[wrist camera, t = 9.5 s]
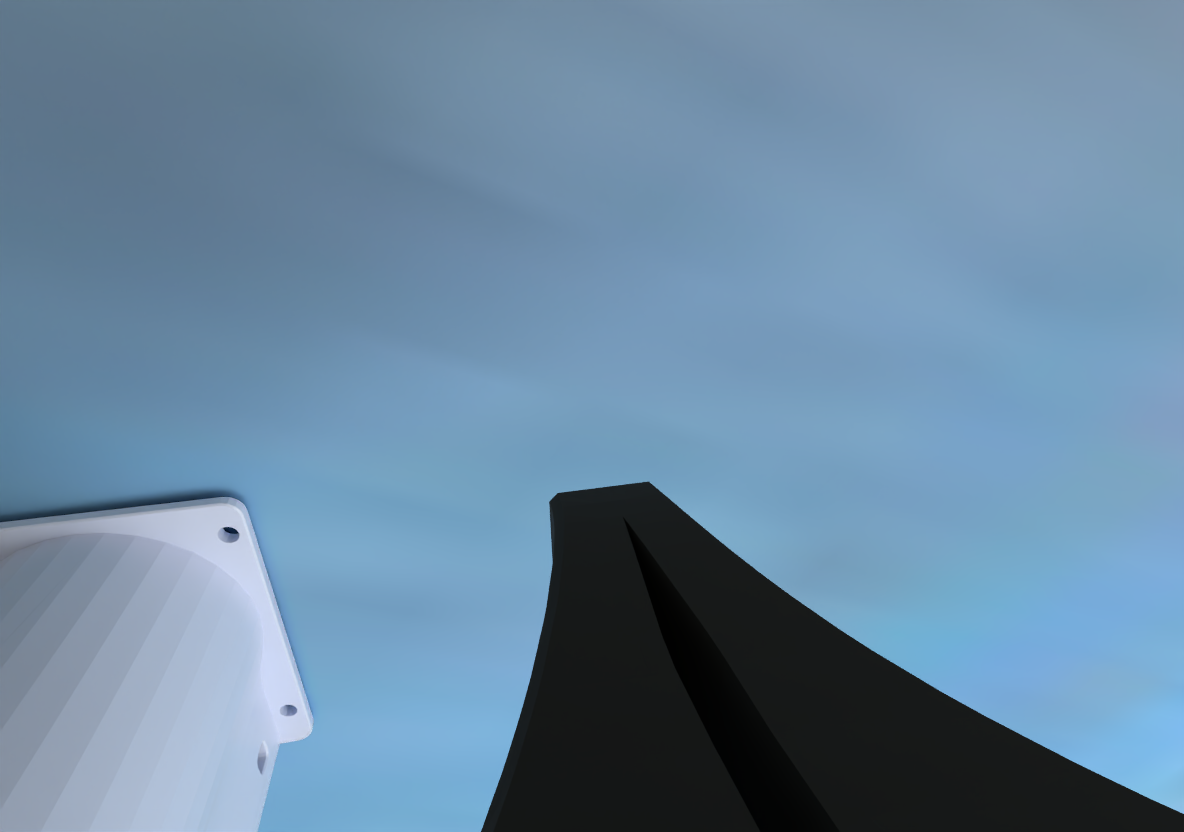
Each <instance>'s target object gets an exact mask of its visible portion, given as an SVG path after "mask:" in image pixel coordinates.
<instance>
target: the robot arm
mask: <svg viewBox="0 0 1184 832" xmlns="http://www.w3.org/2000/svg"><path fill="white" fill-rule="evenodd" d="M549 504H550V522H551V539H552V557H553V566H552V573H551V579H550V586H549V593H548V600H547V607H546V612H545V618H544V622H543V627H542V631H541V635H540V640H539V644H538V649H537V653H536V657H535V662H534V666H533V670H532V675H531V678H530V682H529V686H528V690H527V693H526V697H525V700H524V704H523V708H522V711H521V714H520V718H519V721H518V725H517V728H516V731H515V734H514V737H513V740H512V744H511V747H510V750H509V753H508V756H507V759H506V763H505V766H504V769H503V772H502V775H501V777H500V780H499V783H498V786H497V789H496V791H495V794H494V797H493V800H492V803H491V805H490V808H489V811H488V814H487V817H486V819H485V822H484V825H483V828H482V831H481V832H1184V814H1182V813H1180V812H1178V811H1176V810H1173V809H1171V808H1169V807H1167V806H1165V805H1162V804H1160V803H1158V802H1156V801H1154V800H1151V799H1149V798H1147V797H1145V796H1143V795H1141V794H1139V793H1137V792H1135V791H1133V790H1130V789H1128V788H1126V787H1124V786H1122V785H1120V784H1118V783H1116V782H1114V781H1112V780H1110V779H1108V778H1105V777H1103V776H1101V775H1099V774H1097V773H1095V772H1093V771H1091V770H1089V769H1087V768H1085V767H1083V766H1081V765H1079V764H1077V763H1075V762H1072V761H1070V760H1069V759H1067V758H1065V757H1063V756H1061V755H1059V754H1057V753H1055V752H1053V751H1051V750H1049V749H1047V748H1045V747H1043V746H1042V745H1040V744H1038V743H1036V742H1034V741H1032V740H1030V739H1028V738H1026V737H1024V736H1022V735H1020V734H1018V733H1016V732H1015V731H1013V730H1011V729H1009V728H1007V727H1005V726H1003V725H1001V724H999V723H997V722H995V721H993V720H991V719H989V718H988V717H986V716H984V715H982V714H980V713H978V712H977V711H975V710H973V709H971V708H969V707H968V706H966V705H964V704H962V703H960V702H959V701H957V700H955V699H953V698H951V697H949V696H948V695H946V694H944V693H942V692H941V691H939V690H937V689H935V688H934V687H932V686H930V685H929V684H927V683H925V682H924V681H922V680H920V679H919V678H917V677H915V676H914V675H912V674H910V673H909V672H907V671H905V670H904V669H902V668H900V667H899V666H897V665H895V664H894V663H892V662H890V661H889V660H887V659H885V658H884V657H882V656H880V655H879V654H877V653H875V652H874V651H872V650H871V649H869V648H867V647H866V646H864V645H863V644H861V643H860V642H858V641H856V640H855V639H853V638H852V637H850V636H849V635H847V634H846V633H844V632H843V631H841V630H840V629H838V628H837V627H835V626H834V625H832V624H831V623H829V622H828V621H826V620H825V619H824V618H822V617H821V616H819V615H818V614H816V613H815V612H813V611H812V610H811V609H809V608H808V607H806V606H805V605H803V604H802V603H800V602H799V601H798V600H796V599H795V598H793V597H792V596H790V595H789V594H788V593H786V592H785V591H784V590H782V589H781V588H780V587H778V586H777V585H775V584H774V583H773V582H771V581H770V580H769V579H767V578H766V577H765V576H763V575H762V574H761V573H759V572H758V571H757V570H755V569H754V568H753V567H752V566H750V565H749V564H748V563H746V562H745V561H744V560H743V559H741V558H740V557H739V556H738V555H736V554H735V553H734V552H732V551H731V550H730V549H729V548H727V547H726V546H725V545H724V544H722V543H721V542H720V541H719V540H718V539H716V538H715V537H714V536H713V535H712V534H710V533H709V532H708V531H707V530H706V529H704V528H703V527H702V526H701V525H700V524H698V523H697V522H696V521H695V520H694V519H692V518H691V517H690V516H689V515H688V514H686V513H685V512H684V511H683V510H682V509H681V508H679V507H678V506H677V505H676V504H675V503H673V502H672V501H671V500H670V499H669V498H668V497H666V496H665V495H664V494H663V493H662V492H660V491H659V490H658V489H657V488H656V487H654V486H653V485H652V484H651V483H650V482H642V483H634V484H626V485H618V486H610V487H603V488H595V489H587V490H579V491H571V492H563V493H557V494H556V495H555V497H554V498H553V499H552V500H551V501H550V502H549ZM224 527H232V528H234V529H236V530H237V531H238V532H239V533H237V534H230V533H228V532H226V531H225V530H224V529H223V528H224ZM287 705H293V706H287ZM313 724H314V719H313V716H312V713H311V710H310V707H309V703H308V700H307V697H306V694H305V691H304V688H303V684H302V681H301V678H300V675H299V672H298V669H297V665H296V662H295V659H294V656H293V653H292V650H291V647H290V643H289V640H288V637H287V634H286V631H285V628H284V624H283V621H282V618H281V615H280V612H279V609H278V605H277V602H276V599H275V596H274V593H273V590H272V587H271V583H270V580H269V577H268V574H267V571H266V568H265V564H264V561H263V558H262V555H261V552H260V549H259V545H258V542H257V539H256V536H255V533H254V530H253V527H252V523H251V520H250V517H249V514H248V511H247V509H246V507H245V505H244V504H243V503H242V502H240V501H239V500H237V499H234V498H231V497H217V498H209V499H200V500H191V501H182V502H174V503H165V504H156V505H147V506H139V507H130V508H121V509H112V510H104V511H95V512H86V513H78V514H69V515H60V516H51V517H43V518H34V519H25V520H16V521H8V522H0V832H257V831H258V827H259V823H260V819H261V815H262V811H263V807H264V804H265V800H266V796H267V792H268V788H269V784H270V780H271V776H272V772H273V768H274V764H275V760H276V756H277V753H278V749H279V745H280V744H281V743H287V742H292V741H298V740H301V739H304V738H306V737H307V736H309V735H310V733H311V732H312V728H313Z"/></svg>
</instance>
